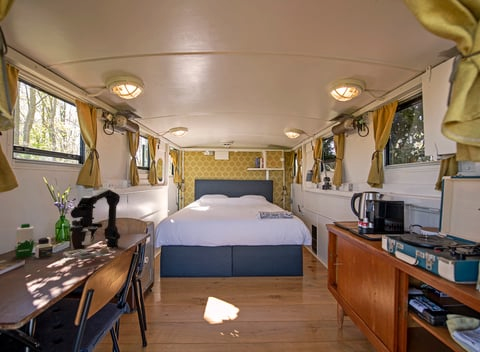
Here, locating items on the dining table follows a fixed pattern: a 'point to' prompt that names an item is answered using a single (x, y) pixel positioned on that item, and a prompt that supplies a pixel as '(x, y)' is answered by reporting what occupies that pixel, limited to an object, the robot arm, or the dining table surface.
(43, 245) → the medicine bottle
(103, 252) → the filter head
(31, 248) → the milk carton
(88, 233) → the cartridge
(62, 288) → the dining table surface
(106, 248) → the plunger
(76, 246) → the cup
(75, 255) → the tray
